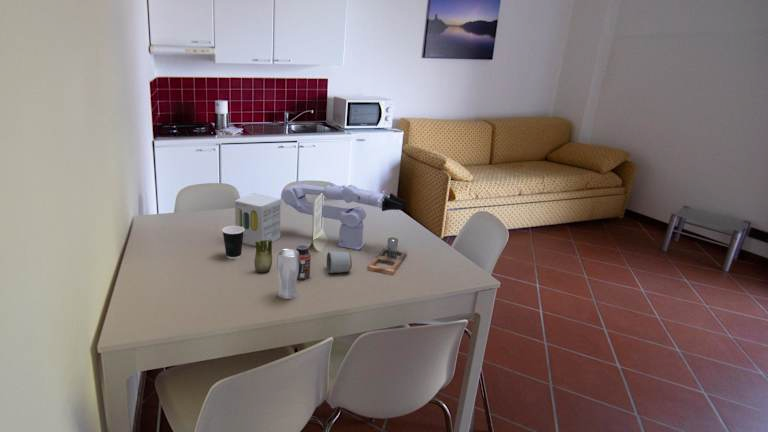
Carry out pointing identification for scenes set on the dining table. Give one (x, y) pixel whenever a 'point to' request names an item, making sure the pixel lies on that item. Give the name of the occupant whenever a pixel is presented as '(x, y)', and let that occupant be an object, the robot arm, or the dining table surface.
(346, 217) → the robot arm
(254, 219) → the supplement box
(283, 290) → the silver beverage can
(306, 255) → the supplement bottle
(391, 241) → the metal peg
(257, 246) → the fennel bulb
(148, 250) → the dining table surface
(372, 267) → the rail
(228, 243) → the dixie cup
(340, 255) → the ceramic mug
